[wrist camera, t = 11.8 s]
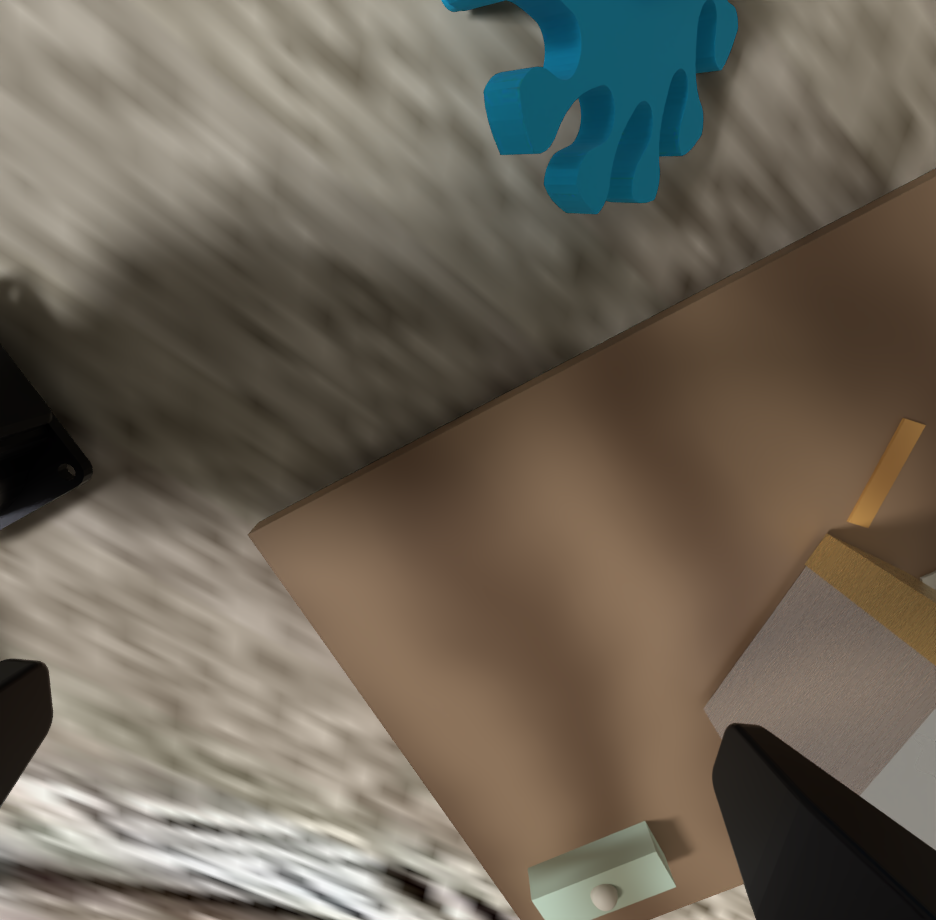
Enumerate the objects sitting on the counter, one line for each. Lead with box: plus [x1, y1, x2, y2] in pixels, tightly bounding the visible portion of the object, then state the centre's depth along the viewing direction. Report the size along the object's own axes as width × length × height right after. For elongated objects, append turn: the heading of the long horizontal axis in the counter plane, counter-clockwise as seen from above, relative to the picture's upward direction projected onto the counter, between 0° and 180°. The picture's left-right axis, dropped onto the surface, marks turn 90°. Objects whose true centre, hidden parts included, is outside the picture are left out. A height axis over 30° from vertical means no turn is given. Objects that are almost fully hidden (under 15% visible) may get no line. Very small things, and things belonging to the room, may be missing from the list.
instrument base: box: [248, 169, 936, 920], centre depth 18 cm, size 24×22×3 cm
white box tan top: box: [703, 534, 936, 850], centre depth 16 cm, size 7×3×6 cm, turn 154°
